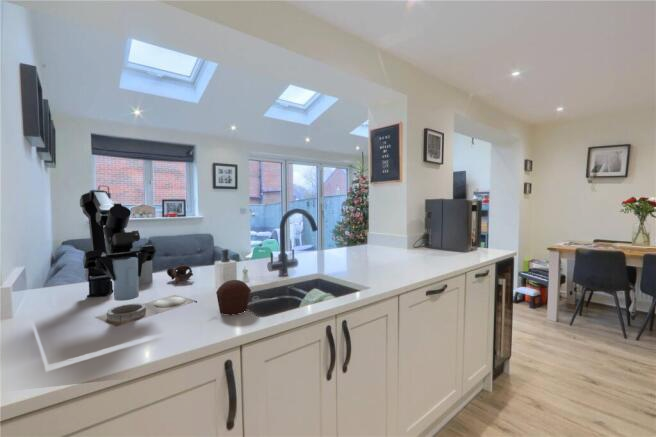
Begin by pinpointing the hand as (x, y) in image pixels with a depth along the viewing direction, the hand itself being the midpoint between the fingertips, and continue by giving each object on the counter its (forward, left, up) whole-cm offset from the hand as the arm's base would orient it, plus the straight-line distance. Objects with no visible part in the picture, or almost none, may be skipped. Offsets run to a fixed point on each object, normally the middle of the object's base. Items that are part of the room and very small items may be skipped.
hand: (127, 277), depth 93 cm
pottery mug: (+4, +45, -13) cm, 47 cm away
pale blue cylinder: (0, 0, -6) cm, 6 cm away
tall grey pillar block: (-13, +48, -13) cm, 51 cm away
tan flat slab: (+4, +6, -13) cm, 15 cm away
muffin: (+31, +2, -13) cm, 34 cm away
